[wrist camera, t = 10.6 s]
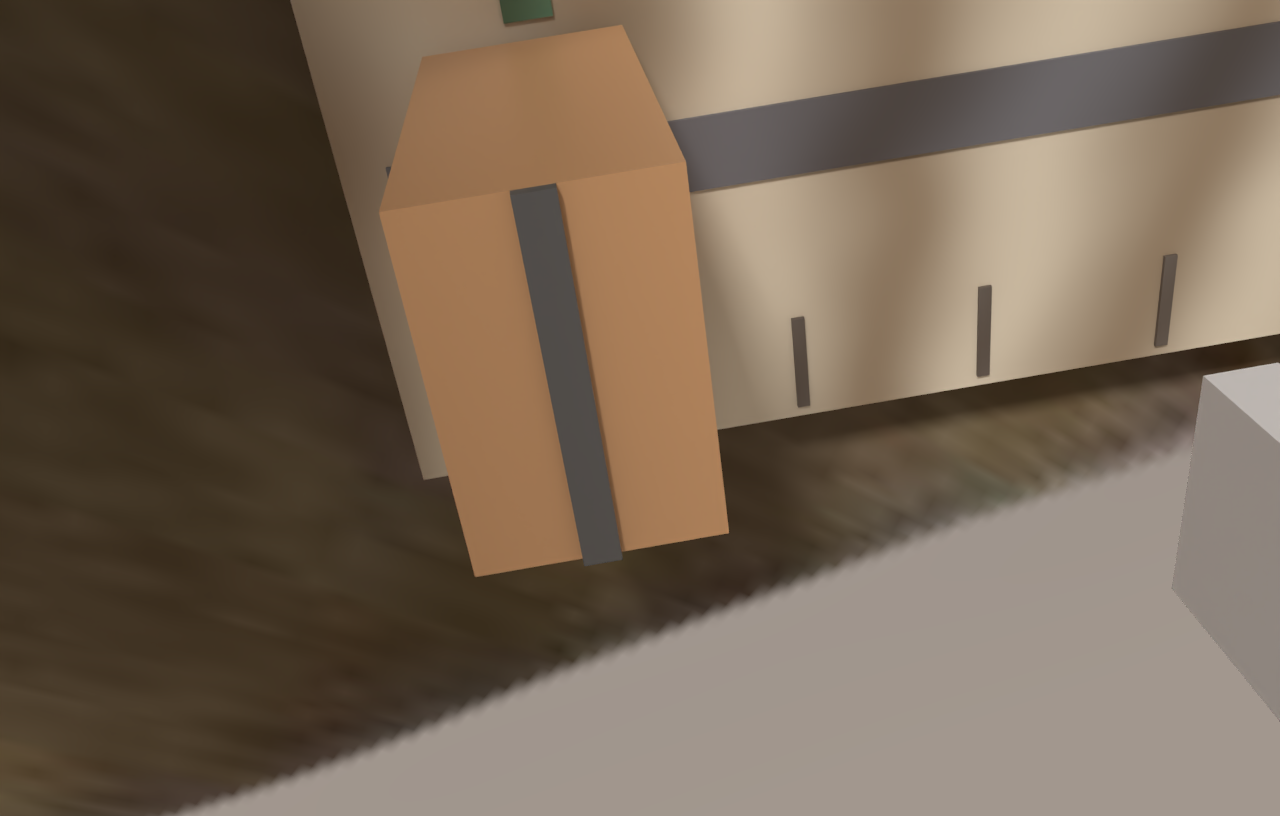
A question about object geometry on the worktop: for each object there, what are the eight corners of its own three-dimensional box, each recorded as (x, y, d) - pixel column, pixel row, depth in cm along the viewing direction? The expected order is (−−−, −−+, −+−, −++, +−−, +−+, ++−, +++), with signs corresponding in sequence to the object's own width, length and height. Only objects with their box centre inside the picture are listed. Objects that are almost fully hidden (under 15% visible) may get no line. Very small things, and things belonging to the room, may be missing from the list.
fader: (483, 327, 25) (474, 585, 17) (422, 56, 22) (377, 217, 14) (659, 298, 25) (731, 540, 17) (621, 25, 22) (688, 166, 14)
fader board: (428, 437, 29) (423, 482, 28) (268, -157, 22) (247, -150, 20) (1285, 292, 30) (1335, 326, 28) (1392, -332, 23) (1469, -341, 21)
